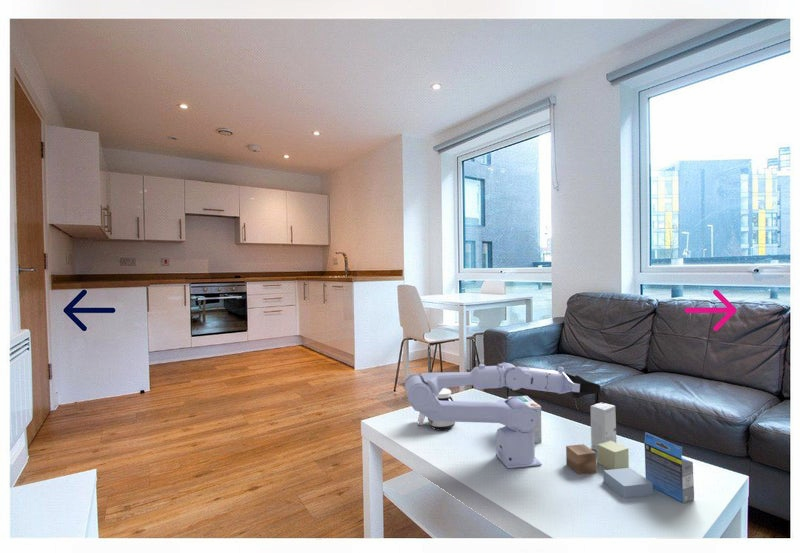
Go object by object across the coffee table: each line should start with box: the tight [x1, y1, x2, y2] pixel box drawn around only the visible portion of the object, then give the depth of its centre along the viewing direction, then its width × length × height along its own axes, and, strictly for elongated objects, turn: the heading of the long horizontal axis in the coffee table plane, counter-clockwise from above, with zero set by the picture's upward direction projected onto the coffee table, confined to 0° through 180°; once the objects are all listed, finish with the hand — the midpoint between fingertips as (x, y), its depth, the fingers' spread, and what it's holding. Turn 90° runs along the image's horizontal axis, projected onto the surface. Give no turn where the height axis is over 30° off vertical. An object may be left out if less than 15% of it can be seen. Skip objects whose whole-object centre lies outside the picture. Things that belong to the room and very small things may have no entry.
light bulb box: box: [507, 395, 543, 444], centre depth 119 cm, size 11×7×11 cm, turn 5°
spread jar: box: [417, 388, 456, 431], centre depth 128 cm, size 12×11×12 cm
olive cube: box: [597, 441, 630, 470], centre depth 100 cm, size 5×5×5 cm
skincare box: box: [590, 402, 617, 452], centre depth 109 cm, size 6×4×12 cm
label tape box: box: [643, 431, 695, 504], centre depth 88 cm, size 9×4×12 cm, turn 21°
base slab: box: [602, 467, 654, 499], centre depth 89 cm, size 7×7×3 cm
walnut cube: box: [565, 443, 597, 475], centre depth 99 cm, size 5×5×5 cm
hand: (590, 385), depth 105 cm, fingers open, 7 cm apart
